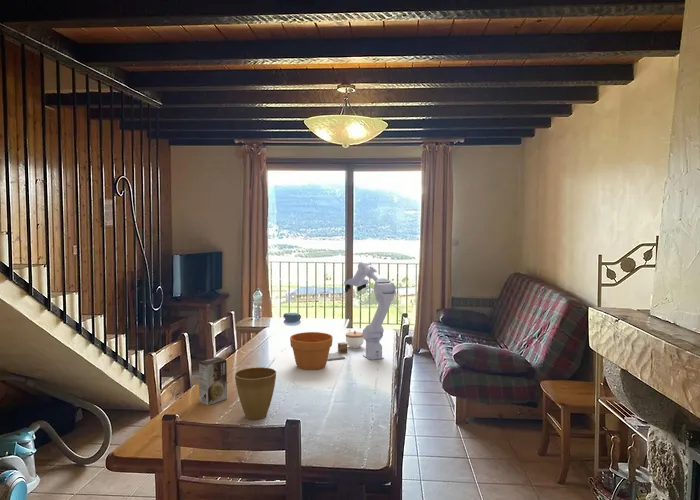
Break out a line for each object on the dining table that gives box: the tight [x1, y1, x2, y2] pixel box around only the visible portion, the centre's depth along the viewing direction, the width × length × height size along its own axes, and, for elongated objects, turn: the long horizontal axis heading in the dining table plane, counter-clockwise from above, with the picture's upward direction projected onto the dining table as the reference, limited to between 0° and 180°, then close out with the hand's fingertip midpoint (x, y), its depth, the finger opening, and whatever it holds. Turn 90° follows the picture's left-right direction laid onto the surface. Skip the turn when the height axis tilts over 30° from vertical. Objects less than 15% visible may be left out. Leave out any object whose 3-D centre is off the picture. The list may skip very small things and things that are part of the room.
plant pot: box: [234, 366, 277, 420], centre depth 178 cm, size 15×15×16 cm
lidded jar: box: [345, 330, 365, 349], centre depth 282 cm, size 11×11×9 cm
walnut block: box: [337, 341, 348, 354], centre depth 270 cm, size 4×4×5 cm
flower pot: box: [289, 331, 333, 371], centre depth 243 cm, size 21×21×15 cm
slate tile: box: [327, 352, 346, 361], centre depth 260 cm, size 10×10×1 cm
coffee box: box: [198, 356, 228, 406], centre depth 193 cm, size 9×6×16 cm
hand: (351, 290), depth 285 cm, fingers open, 7 cm apart
